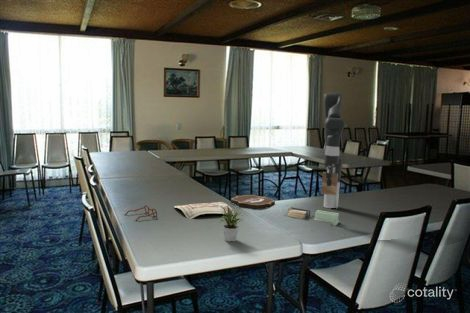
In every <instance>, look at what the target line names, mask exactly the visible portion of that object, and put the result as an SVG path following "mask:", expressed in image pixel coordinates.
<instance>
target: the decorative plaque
mask: <svg viewBox="0 0 470 313" xmlns="http://www.w3.org/2000/svg"><path fill="white" fill-rule="evenodd" d="M231 202H232V203H234V204H236V205H235V206H237V207H238V206H239V207H238V208H244V209H251V210H263V209H270V208H272V207H274V206H275V204H276V200H275V199H273V198H269V197H267V196H261V195H260V196H259V195H254V194H245V195H234V197H231V198H230V203H231ZM234 204H233V205H234Z"/></svg>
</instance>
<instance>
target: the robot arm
mask: <svg viewBox="0 0 470 313" xmlns="http://www.w3.org/2000/svg"><path fill="white" fill-rule="evenodd" d="M323 108H324V110H323V111H324V164H323V165H324V169H325V172H326V178H327V186H331V180H332V175H333V173H337V174H338V180H337V193H336V196H334V195H327V194H323V207H324V208H326V209H331V208H336V209H338V208H339V195H340V188H341V187H340V186H341V178H342V176H341V175H342V170H343V159H342V158H341V157H340V145H341V137H342V133H343V131H344V128H345V126H346V122H345V120H344V119H343V118H342V114H341V112H342V108H343V95H342V93H341V92H326V93H325V94H324V95H323ZM331 173H332V174H331ZM328 175H330V176H328Z"/></svg>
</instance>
